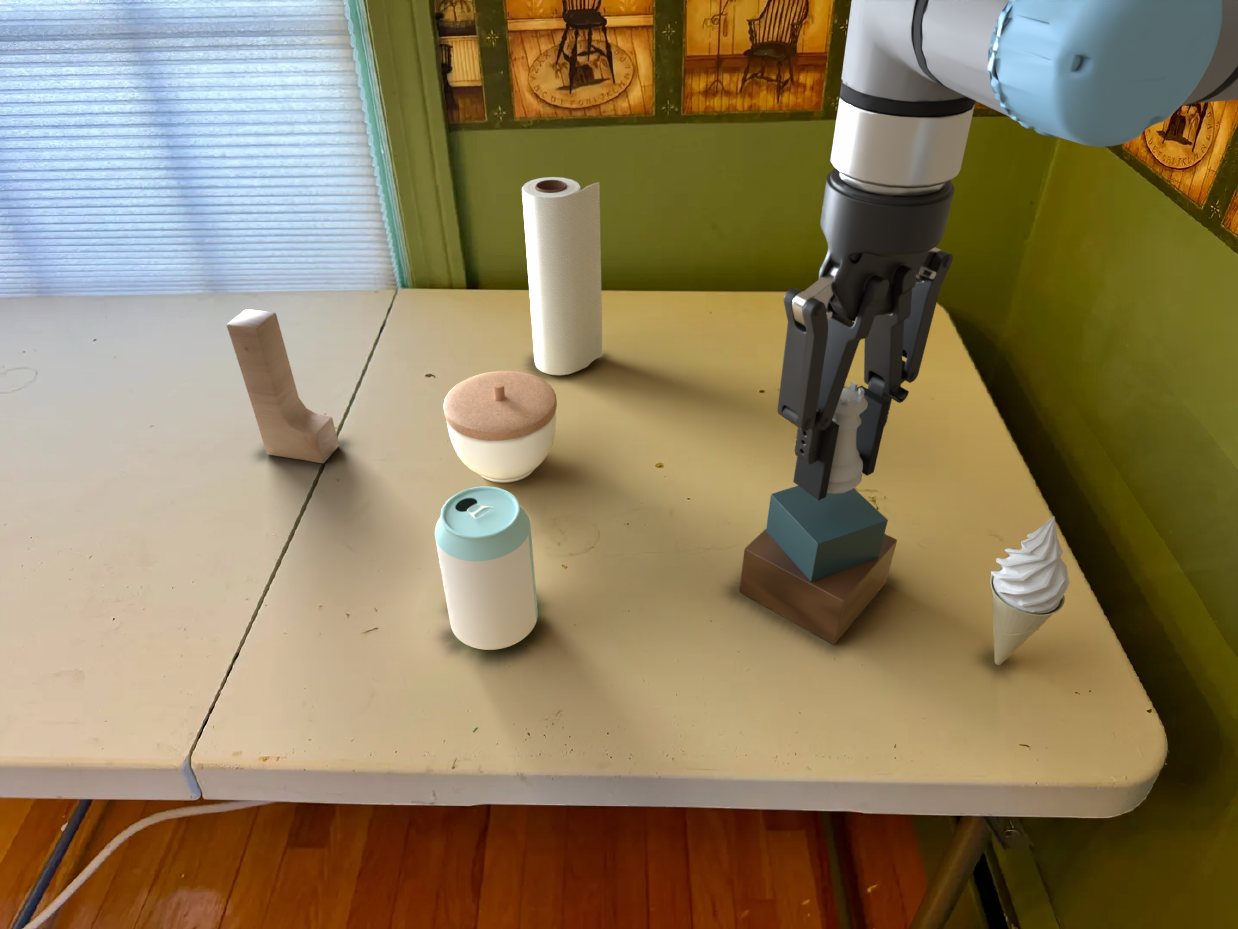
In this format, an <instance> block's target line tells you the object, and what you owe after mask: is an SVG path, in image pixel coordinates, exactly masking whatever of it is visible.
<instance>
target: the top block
mask: <svg viewBox="0 0 1238 929" xmlns="http://www.w3.org/2000/svg"><path fill="white" fill-rule="evenodd" d="M768 506H769V507H768V514H767V520H766V527H765V529H766V532H767V533H768V534H769V535H770V536H771V537H772V538H773V540H774V541H775V542H776V543H777V544H778V545H779V546H780V547H781V549H782V550H783V551H784V552H785V553H786V554H787V555H788V556H789V558H790V559H791V560H792V561H793V562H794V563H795V564H796V566H797V567H798V568H799V569H800V570H801V571H802V572H803V573H804V575H805V576H806V577H807V578H808V579H809V580H810V581H811V582H812V581H815V580H818V579H820V578H823V577H826V576H829V575H832V574H834V573H837V572H840V571H843V570H845V569H848V568H851V567H854V566H856V565H859V564H862V563H865V562H868V561H870V560H873V559H876V558H878V557H879V554H880V550H881V546H882V542H883V538H884V534H886V530H887V525H888V521H889V519H887V517H885V516H884V515H883V514H882V513H881V512H880V511H879V510H878V509H877V508H876V507H875V506H874V505H872V503H870V502H869V501H868V500H867V499H866V498H865V497H864V496H863V495H862V494H861V493H859V491H857V489H856V488H854V489H852V490H850V491H848V492H845V493H839V494H832V493H827V494H826V497H825V498H823V499H821V500H817V499H816V498H815V497H813V496H812V495H810V494H809V493H808V492H806V491H805V490H804V489H802V488H801V487H800V486H798V485H795V486H792V487H789V488H786V489H781V490H778V491H776V492H774V493H770V498H769V504H768Z"/></svg>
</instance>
